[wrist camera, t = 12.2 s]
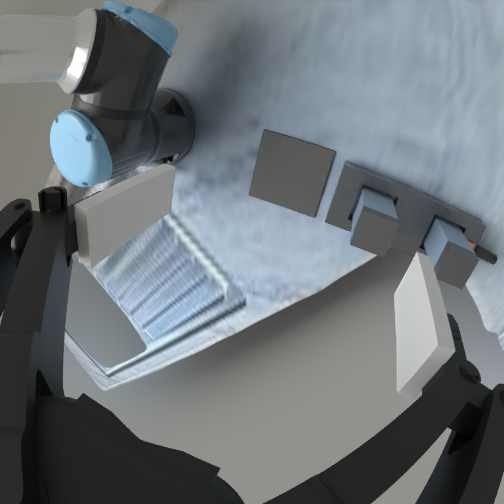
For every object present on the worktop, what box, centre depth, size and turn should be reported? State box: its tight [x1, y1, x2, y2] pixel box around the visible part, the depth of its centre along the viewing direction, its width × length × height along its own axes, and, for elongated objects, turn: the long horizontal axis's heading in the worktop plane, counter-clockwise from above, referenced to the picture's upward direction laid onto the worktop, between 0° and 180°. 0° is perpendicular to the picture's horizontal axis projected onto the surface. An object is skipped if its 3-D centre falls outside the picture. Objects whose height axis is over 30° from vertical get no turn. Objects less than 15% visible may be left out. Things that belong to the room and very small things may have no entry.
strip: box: [325, 161, 497, 265], centre depth 46 cm, size 32×10×4 cm, turn 77°
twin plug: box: [423, 215, 479, 289], centre depth 41 cm, size 5×5×12 cm
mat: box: [249, 130, 335, 218], centre depth 51 cm, size 12×12×1 cm
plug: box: [350, 186, 399, 257], centre depth 43 cm, size 5×5×12 cm
